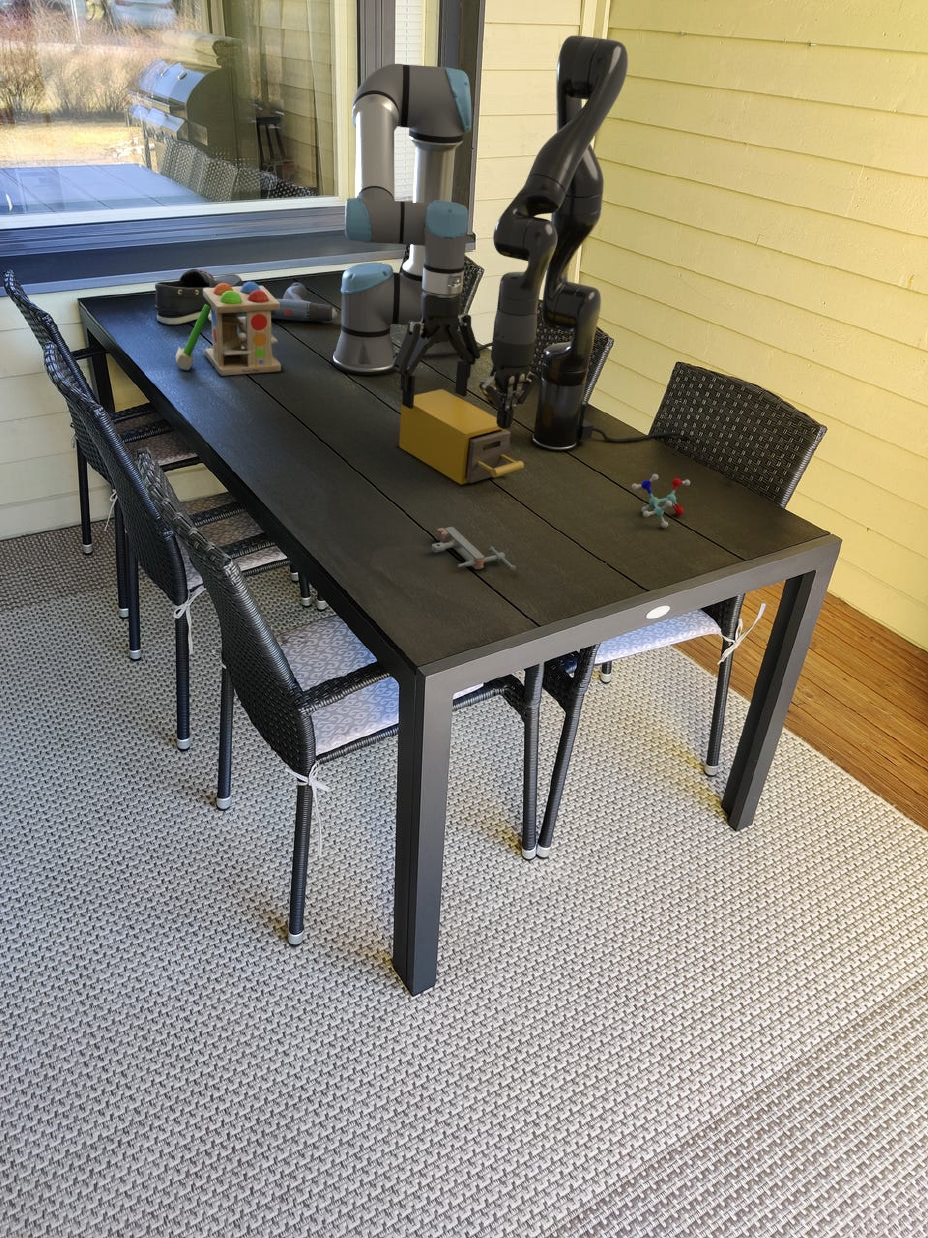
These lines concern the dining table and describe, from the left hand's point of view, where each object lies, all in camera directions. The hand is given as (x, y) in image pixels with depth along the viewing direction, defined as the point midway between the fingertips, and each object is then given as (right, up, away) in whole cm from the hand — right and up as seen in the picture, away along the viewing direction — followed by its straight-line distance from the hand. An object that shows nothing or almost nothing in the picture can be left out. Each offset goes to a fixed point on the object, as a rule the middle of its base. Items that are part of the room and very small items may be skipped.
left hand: (434, 400), depth 195 cm
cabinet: (+3, -11, +3) cm, 12 cm away
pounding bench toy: (-50, +16, +35) cm, 63 cm away
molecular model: (+42, -24, -10) cm, 49 cm away
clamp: (+6, -33, -29) cm, 45 cm away
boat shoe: (-64, +40, +67) cm, 101 cm away
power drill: (-37, +40, +72) cm, 90 cm away
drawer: (+7, -13, -1) cm, 15 cm away
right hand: (+13, -8, -13) cm, 20 cm away
